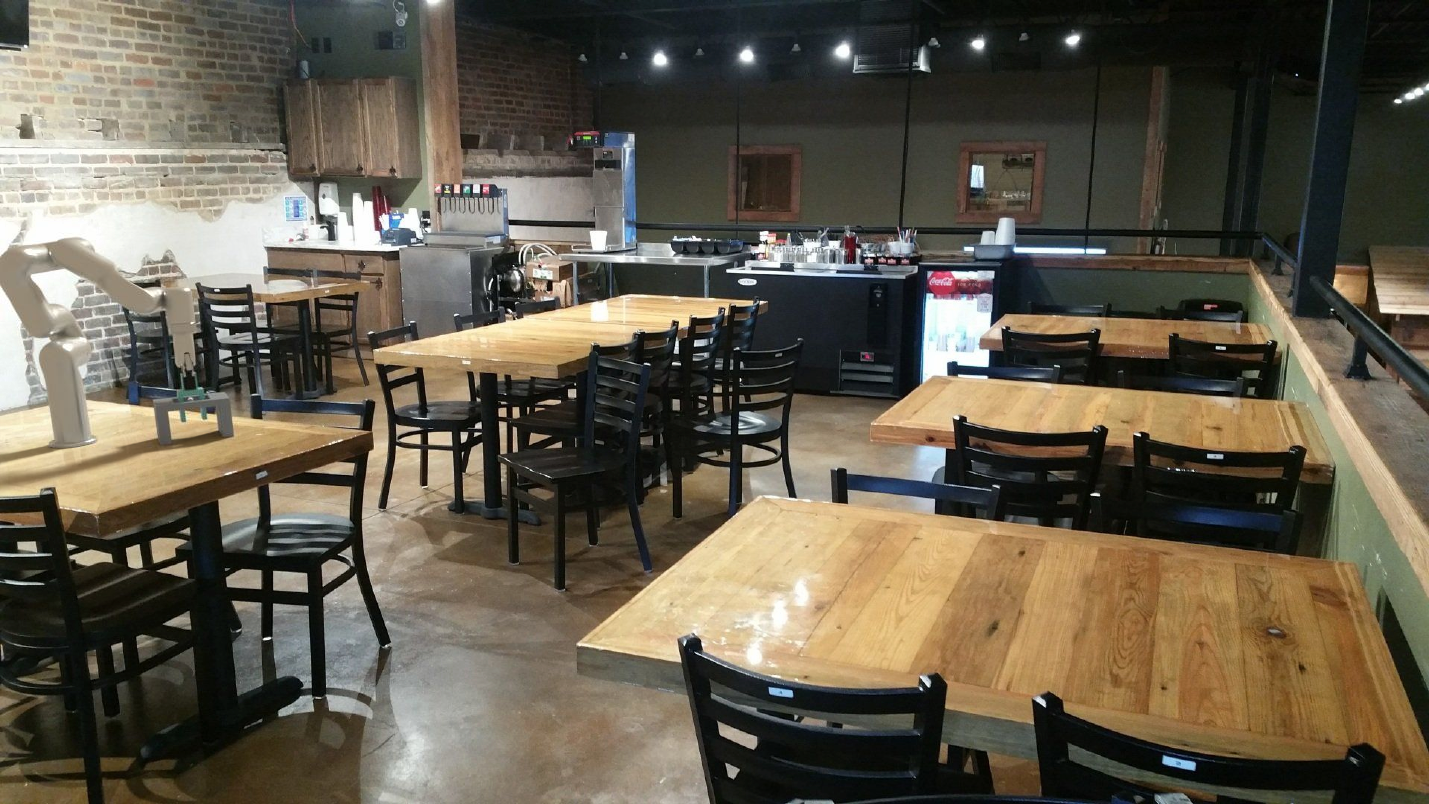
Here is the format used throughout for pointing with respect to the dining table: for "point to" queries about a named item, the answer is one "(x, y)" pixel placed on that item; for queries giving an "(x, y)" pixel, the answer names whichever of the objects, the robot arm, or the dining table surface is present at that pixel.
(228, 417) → the grey table arch
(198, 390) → the teal arch frame
